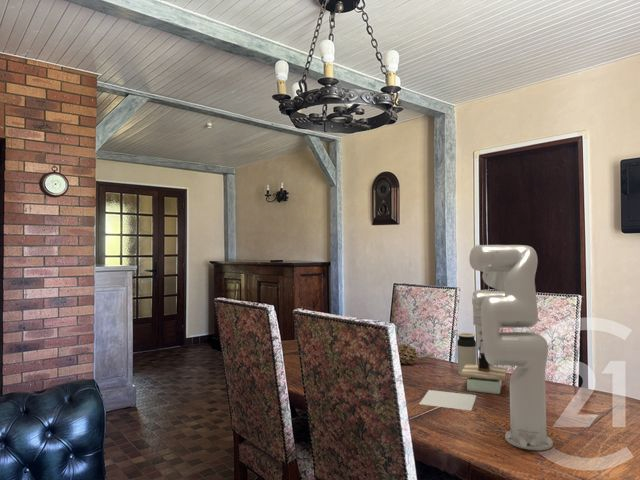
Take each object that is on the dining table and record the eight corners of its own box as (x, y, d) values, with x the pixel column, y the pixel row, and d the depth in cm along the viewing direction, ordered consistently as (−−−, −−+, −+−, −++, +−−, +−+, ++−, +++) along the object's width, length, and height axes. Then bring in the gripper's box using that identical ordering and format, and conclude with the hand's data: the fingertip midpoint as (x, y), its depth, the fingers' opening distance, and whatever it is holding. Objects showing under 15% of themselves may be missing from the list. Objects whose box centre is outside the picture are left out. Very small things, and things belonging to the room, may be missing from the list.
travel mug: (479, 377, 201) (478, 335, 202) (460, 377, 202) (460, 336, 202) (473, 372, 209) (472, 332, 210) (455, 372, 209) (455, 332, 210)
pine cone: (391, 366, 221) (391, 346, 221) (388, 362, 231) (388, 342, 231) (437, 366, 221) (437, 345, 221) (432, 361, 230) (432, 341, 231)
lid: (504, 380, 173) (504, 363, 173) (460, 376, 180) (460, 360, 180) (506, 370, 188) (506, 355, 188) (465, 366, 194) (465, 352, 194)
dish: (499, 395, 176) (499, 382, 176) (467, 391, 181) (466, 379, 181) (501, 386, 187) (501, 374, 187) (470, 383, 191) (470, 371, 192)
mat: (471, 412, 158) (471, 410, 158) (419, 405, 165) (419, 404, 165) (476, 396, 174) (476, 395, 174) (428, 391, 182) (428, 389, 182)
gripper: (491, 324, 175) (492, 373, 174) (494, 318, 190) (495, 363, 190) (471, 323, 178) (472, 371, 178) (475, 317, 193) (476, 361, 193)
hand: (484, 366), depth 184 cm, fingers closed on lid, 3 cm apart
